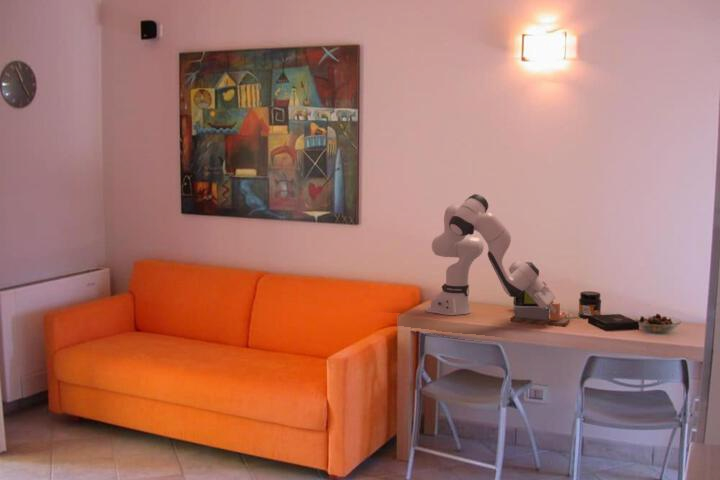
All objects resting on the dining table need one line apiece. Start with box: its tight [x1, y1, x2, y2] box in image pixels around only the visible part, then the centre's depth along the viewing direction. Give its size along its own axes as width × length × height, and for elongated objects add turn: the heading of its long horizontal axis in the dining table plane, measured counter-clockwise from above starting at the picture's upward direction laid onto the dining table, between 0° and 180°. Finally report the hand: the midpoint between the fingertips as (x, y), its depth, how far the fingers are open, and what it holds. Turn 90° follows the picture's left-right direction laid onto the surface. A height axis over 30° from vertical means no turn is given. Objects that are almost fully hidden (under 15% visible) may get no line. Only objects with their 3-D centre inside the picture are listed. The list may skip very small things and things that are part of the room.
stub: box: [549, 302, 561, 321], centre depth 369 cm, size 4×2×8 cm, turn 65°
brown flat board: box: [510, 314, 570, 327], centre depth 373 cm, size 26×10×2 cm, turn 65°
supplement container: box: [578, 290, 602, 320], centre depth 382 cm, size 10×10×12 cm
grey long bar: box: [514, 306, 550, 320], centre depth 374 cm, size 16×2×5 cm, turn 65°
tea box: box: [512, 290, 540, 311], centre depth 395 cm, size 15×10×15 cm, turn 84°
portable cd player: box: [587, 313, 640, 332], centre depth 364 cm, size 16×17×4 cm
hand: (556, 311), depth 369 cm, fingers closed on stub, 2 cm apart
